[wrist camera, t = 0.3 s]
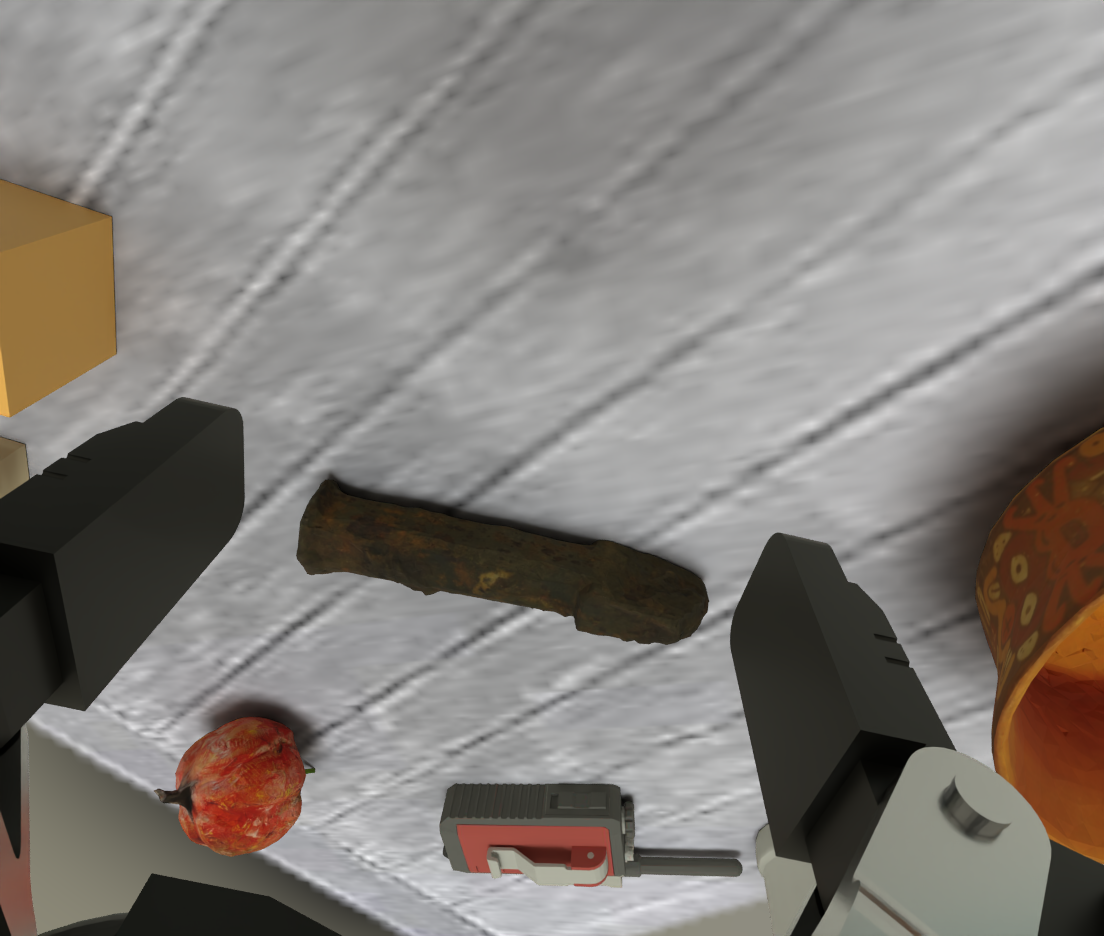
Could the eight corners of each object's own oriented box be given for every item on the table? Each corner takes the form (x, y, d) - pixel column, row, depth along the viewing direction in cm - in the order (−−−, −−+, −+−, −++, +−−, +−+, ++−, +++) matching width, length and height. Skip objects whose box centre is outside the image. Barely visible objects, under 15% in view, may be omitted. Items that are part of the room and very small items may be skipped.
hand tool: (322, 531, 34) (283, 595, 30) (325, 466, 32) (284, 525, 28) (684, 613, 35) (693, 686, 31) (711, 556, 33) (724, 625, 29)
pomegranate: (354, 707, 44) (221, 711, 35) (356, 833, 41) (212, 869, 33) (273, 722, 47) (131, 729, 38) (269, 840, 44) (116, 876, 36)
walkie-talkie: (454, 850, 48) (738, 856, 46) (440, 917, 45) (749, 927, 42) (429, 775, 44) (742, 777, 41) (412, 842, 40) (755, 849, 38)
